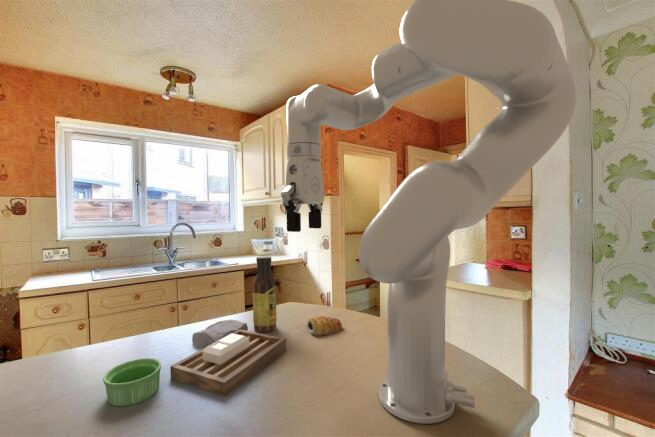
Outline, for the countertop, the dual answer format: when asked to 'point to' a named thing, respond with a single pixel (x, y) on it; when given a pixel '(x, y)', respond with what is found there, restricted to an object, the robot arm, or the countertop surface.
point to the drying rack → (229, 364)
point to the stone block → (216, 332)
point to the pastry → (323, 325)
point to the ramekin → (132, 381)
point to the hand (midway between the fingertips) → (305, 229)
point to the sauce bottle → (264, 296)
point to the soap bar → (225, 348)
